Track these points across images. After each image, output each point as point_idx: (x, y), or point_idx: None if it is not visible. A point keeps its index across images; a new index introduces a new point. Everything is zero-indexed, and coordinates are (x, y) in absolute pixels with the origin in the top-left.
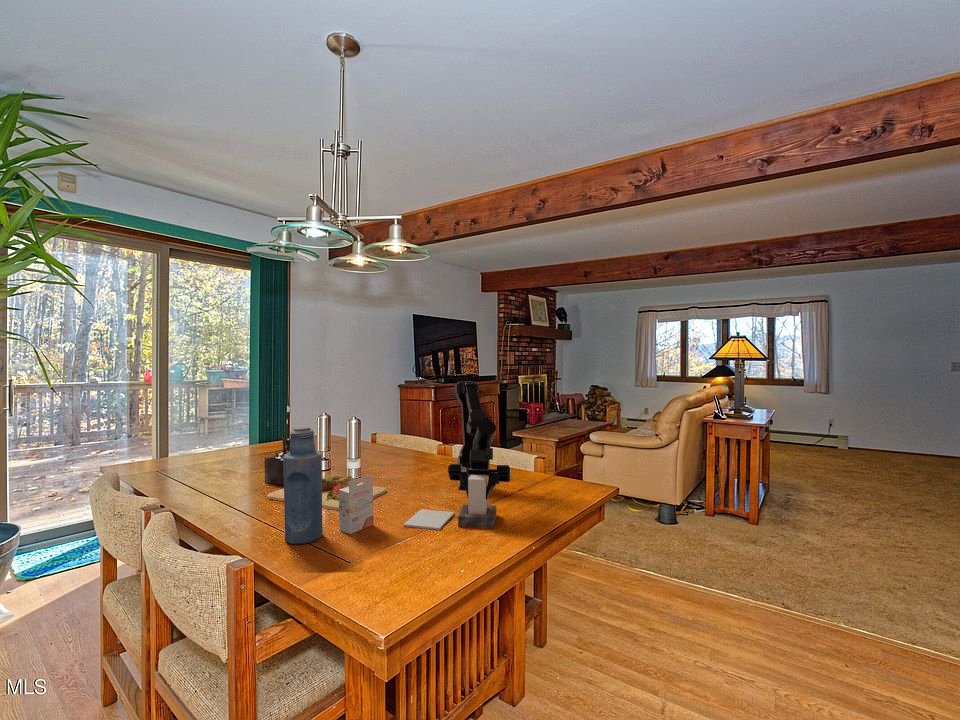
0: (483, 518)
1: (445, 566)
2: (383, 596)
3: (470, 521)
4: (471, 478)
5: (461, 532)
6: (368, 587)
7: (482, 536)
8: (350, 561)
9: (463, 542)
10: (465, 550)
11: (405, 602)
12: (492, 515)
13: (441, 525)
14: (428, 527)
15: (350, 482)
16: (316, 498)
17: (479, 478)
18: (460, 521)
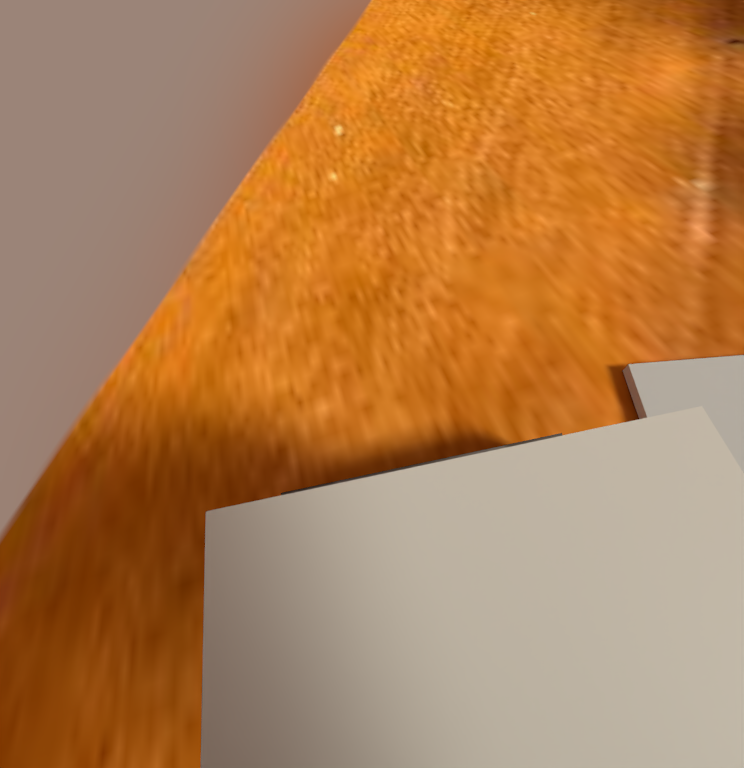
0: (360, 477)
1: (399, 128)
2: (481, 2)
3: None
4: (665, 530)
5: (476, 383)
6: (546, 5)
7: (343, 372)
8: (736, 44)
9: (412, 285)
10: (375, 229)
11: (418, 9)
12: None
13: (646, 404)
14: (709, 359)
15: None
16: None
17: (407, 617)
18: None
